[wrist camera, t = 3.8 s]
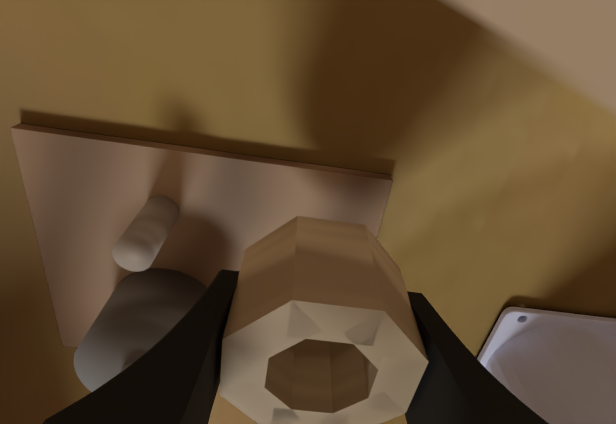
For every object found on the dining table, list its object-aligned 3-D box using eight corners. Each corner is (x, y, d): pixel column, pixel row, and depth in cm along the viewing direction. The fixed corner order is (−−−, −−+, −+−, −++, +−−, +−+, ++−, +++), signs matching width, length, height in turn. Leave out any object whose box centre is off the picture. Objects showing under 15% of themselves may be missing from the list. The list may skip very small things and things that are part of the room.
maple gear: (412, 230, 13) (448, 318, 10) (374, 343, 16) (391, 443, 12) (248, 209, 13) (224, 292, 9) (238, 328, 16) (217, 427, 12)
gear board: (390, 174, 18) (420, 247, 13) (337, 366, 24) (343, 462, 19) (19, 123, 17) (-101, 181, 12) (68, 338, 23) (3, 432, 18)
